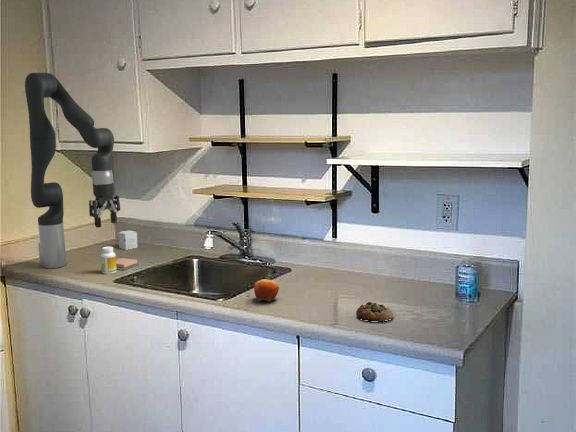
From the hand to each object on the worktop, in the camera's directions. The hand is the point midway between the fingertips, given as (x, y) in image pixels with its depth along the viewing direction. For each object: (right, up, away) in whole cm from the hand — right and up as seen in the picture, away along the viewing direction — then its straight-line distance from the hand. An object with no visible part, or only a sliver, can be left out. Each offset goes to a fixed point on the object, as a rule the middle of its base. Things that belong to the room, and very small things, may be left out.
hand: (106, 225), depth 236 cm
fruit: (+61, -24, -33) cm, 74 cm away
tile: (+4, -14, +16) cm, 22 cm away
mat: (+2, -17, +12) cm, 20 cm away
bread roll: (+94, -27, -51) cm, 110 cm away
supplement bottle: (0, -18, +4) cm, 19 cm away
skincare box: (-3, -11, +44) cm, 45 cm away
